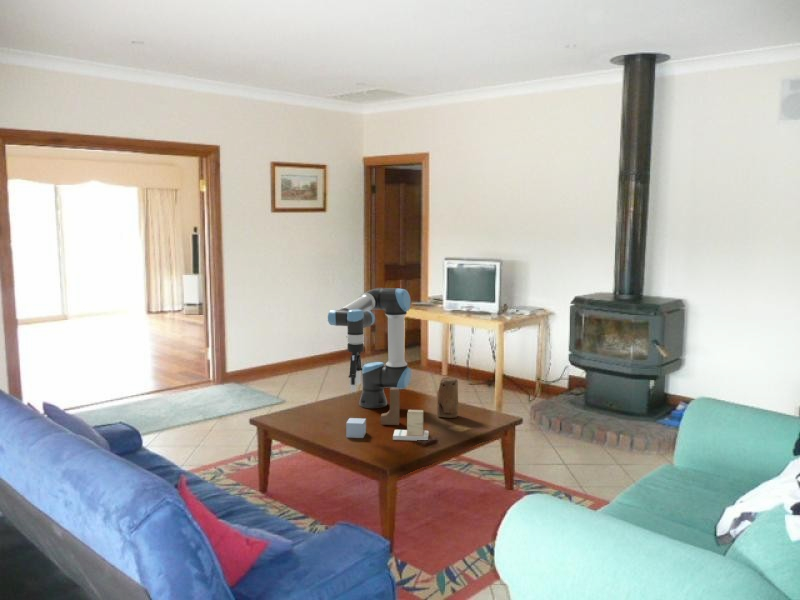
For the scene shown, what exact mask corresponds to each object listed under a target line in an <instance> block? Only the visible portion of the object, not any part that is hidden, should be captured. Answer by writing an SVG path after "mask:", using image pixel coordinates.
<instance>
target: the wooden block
mask: <svg viewBox="0 0 800 600" xmlns="http://www.w3.org/2000/svg"><path fill="white" fill-rule="evenodd" d="M380 425H381V426H386V425H387V426H399V425H400V389H399V388H392V387H391V388H389V410H388V411H387V412H384V413H383V412H382V413H381V415H380Z"/></svg>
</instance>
